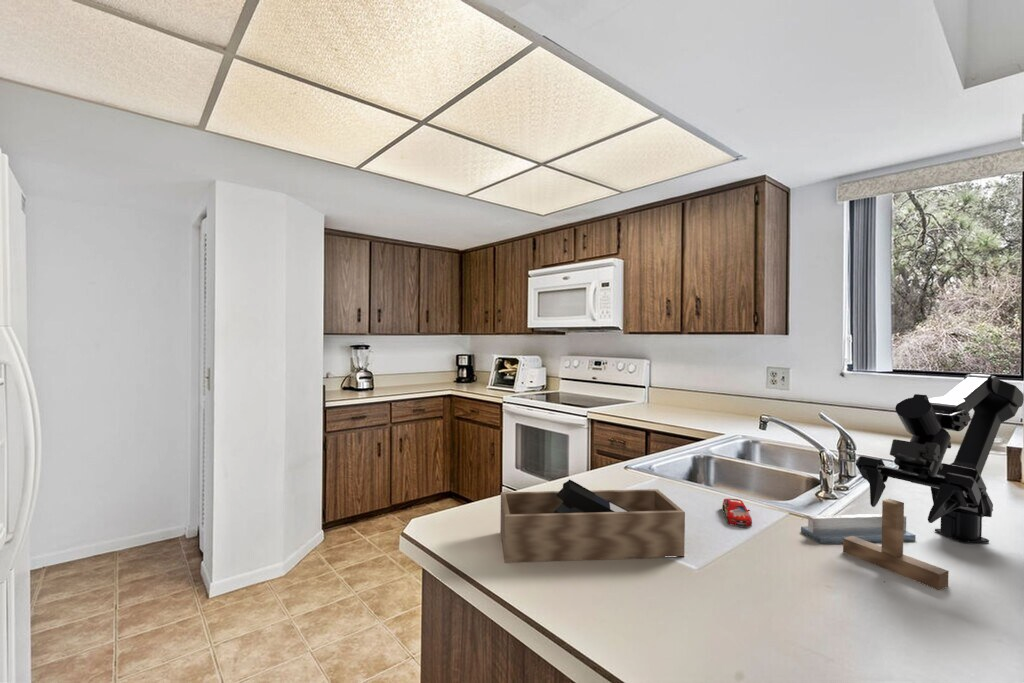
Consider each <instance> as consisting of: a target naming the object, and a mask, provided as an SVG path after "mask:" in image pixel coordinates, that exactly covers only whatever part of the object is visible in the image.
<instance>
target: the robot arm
mask: <svg viewBox="0 0 1024 683" xmlns="http://www.w3.org/2000/svg"><path fill="white" fill-rule="evenodd" d="M1023 404H1024V394H1023V392H1022V390H1020V389H1019V388H1018V387H1017V385H1014V384H1012V383H1009V382H1006V381H1003V380H1002V379H1000V378H999V377H998V376H995V375H993V374H982V373H970V374H966V375H965V376H964V378H963V380H961V382H960V383H958V384H957V385H955V387H954V388H951V390H950V391H948V392H947V393H946V394H945V395H943V396H935V397H931V398H929V397H928V395H927V394H919V393H914V394H913V397H908V398H906V399H903V400H902V401H900V402H899V403H896V405H895V412H896V414H897V416H898V418H899V419H900V422H901V423H902V426H903V427H904V429H905V431H906V432H908V433H909V434H910V435H912V436H911V437H910V441H908V440H902V439H896V438H895V439H892V442H891V447H890V451H889V455H890V456H893V458H894V460H893V462H894V464H895V465H896V466H898V467H897V468H895V467H892V466H887V465H885V463H884V461H883V459H882V458H878V457H872V456H868V455H860V456H859V457H858V458H857V460H856V461H855V466H856V467H857V470H858V471H859V473H860V474H861V476H862V479H865V480H866V481H867V483H868V484H869V499H870V500H869V501H870V503H869V504H870V506H871V507H872V508H875V507H876V506H877V505H878V503H879V501H880V499H881V497H882V495H883V492H884V491H885V489H886V484H885V483H886V482H887V481H888V478H891V479H896V480H901V481H905V482H910V483H912V484H918V485H922V486H925V487H930V491H931V492H930V493H931V497H932V506H931V508H930V511H929V512H928V516H927V521H928V523H930V524H932V523H935V522H936V521H937V520H939V519H940V528H934V532H935V533H939V534H941V535H943V536H945V537H947V538H950V539H953V540H955V541H958V542H959V543H962V544H976V543H977V544H978V543H981V544H982V543H990V539H988V538H986V537H983V536H982V529H983V524H982V523H983V518H984V517H986V518H992V517H993V511H994V509H993V507H994V504H993V502H992V500H991V498H990V496H989V494H988V492H987V489H988V488H987V486H986V484H985V482H984V479H983V478H982V472H983V470H984V468H985V465H986V463H987V461H988V458H989V455H990V452H991V450H992V447H993V445H994V442H995V440H996V437H997V434H998V431H999V429H1000V426H1001V425H1002V423H1004V422H1006V421H1007V420H1011V419H1012V418H1014V417H1015V416H1016V414H1017V413H1018V410H1019V409H1020V408H1021V407H1022V406H1023ZM971 410H973V415H972V417H971V415H970V411H971ZM967 426H968V427H967ZM965 427H967V429H966V432H965V434H964V436H963V439H962V441H961V443H960V445H959V449H958V451H957V453H956V455H955V457H954V461H953V462H952V463H950V464H949V463H945V462H943V459H944V456H945V454H946V452H947V449H951V448H952V442H951V438H952V437H951V435H950V433H949V432H948V431H954V432H961V431H963V430H964V429H965ZM942 462H943V463H942Z"/></svg>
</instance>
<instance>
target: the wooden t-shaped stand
mask: <svg viewBox="0 0 1024 683" xmlns="http://www.w3.org/2000/svg"><path fill="white" fill-rule="evenodd" d="M881 503H882V504H881V505H882V507H881V510H882V511H881V514H882V542H881V545H879V544H876V543H874V542H868V541H865V540H862V539H860V538H857V537H854V536H850V537H846V538H843V543H842V553H845V554H847V555H849V556H852V557H855V558H857V559H860V560H862V561H863V562H864V561H865V562H867V563H870V564H872V565H874V566H877V567H879V568H882V569H884V570H887V571H890V572H892V573H894V574H897V575H900V576H902V577H904V578H907V579H909V578H910V579H909V580H912V581H914V580H915V582H917V583H919V582H920V584H922V583H923V584H922V585H924V584H925V586H927V585H928V587H929V586H930V587H929V588H932V587H933V588H932V589H934V588H935V589H934V590H937V591H941V589H942V590H944V589H946V588H945V587H947V588H949V574H950V573H949V572H950V571H949V570H947V569H944V568H942V567H939V566H936V565H935V564H930V563H928V562H926V561H922V560H920V559H917V558H914V557H911V556H909V555H907V554H906V555H905V554H904V541H903V527H904V515H905V503H904V501H900V500H899V501H898V500H896V499H892V498H888V499H883V500H882V502H881ZM943 588H944V589H943Z"/></svg>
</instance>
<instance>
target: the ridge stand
mask: <svg viewBox="0 0 1024 683" xmlns="http://www.w3.org/2000/svg"><path fill="white" fill-rule="evenodd" d="M807 520H808V521H807V522H808V523H807V526H804V525H803V526H800V532H801V533H802V534H804V535H805V536H807V537H808V538H810V539H811V540H814V541H815V542H817V543H819V544H843V538H846V537H850V536H854V537H857V538H860V539H862V540H865V541H868V542H871V543H877V542H878V543H879V542H880V543H882V513H877V514H875V513H873V514H836V515H835V514H834V515H832V514H830V515H808V518H807ZM912 541H914V542H915V541H916V534H914V533H911V532H909V531H907V515H906V514H904V527H903V542H912Z"/></svg>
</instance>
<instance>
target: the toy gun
mask: <svg viewBox="0 0 1024 683" xmlns="http://www.w3.org/2000/svg"><path fill="white" fill-rule="evenodd" d="M558 491H559V492H558V493H557V494H556V496H557V497H558V498H560V499H561V500H562V501H563V503H562V504H561V505H560V506H559V507H558V508H557V509H556V510H555V511H554V512H553V513H591V512H630V511H628V510H626V509H624V508H622V507H620V506H618V505H616V504H614V503H612V502H611V501H609V500H608V501H607V500H605V499H603V498H601V497H599V496H597V495H595V493H593V492H591V491H592V490H589V489H587V487H585V486H583V485H581V484H579V483H578V482H576V481H574V480H572V479H568V480H567V481H565V482H563V483H562V488H561V489H560V490H558Z"/></svg>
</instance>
